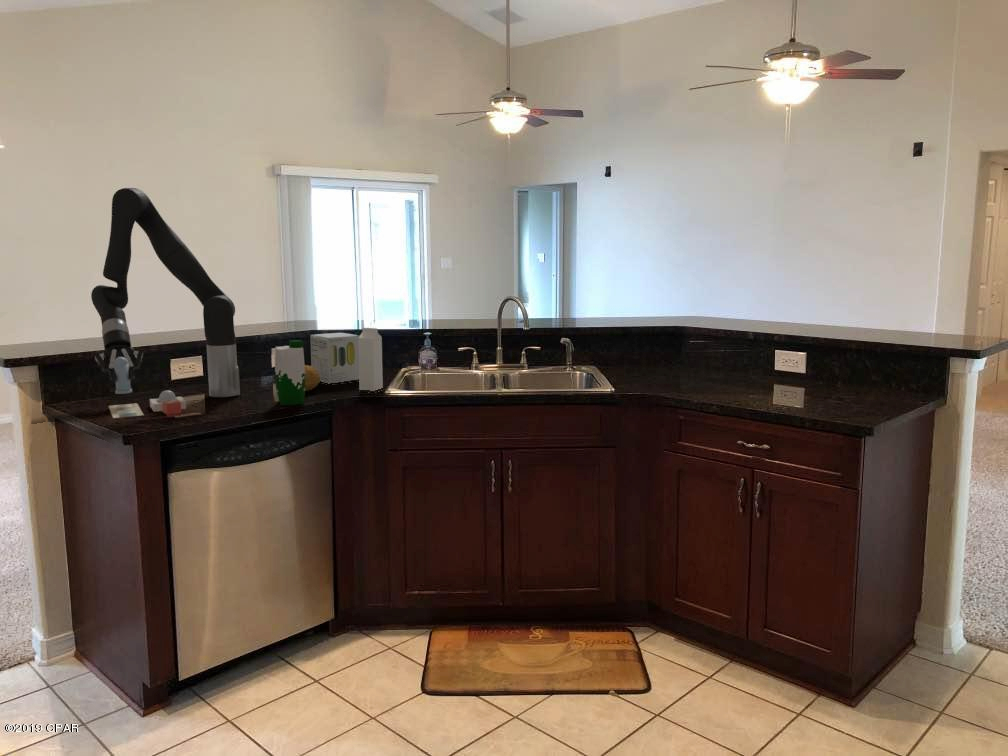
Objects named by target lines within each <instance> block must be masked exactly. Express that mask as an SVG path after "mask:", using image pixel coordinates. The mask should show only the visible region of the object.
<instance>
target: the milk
mask: <svg viewBox="0 0 1008 756" xmlns="http://www.w3.org/2000/svg"><path fill="white" fill-rule="evenodd" d="M361 331H362V332H361V334H359V335H358V352H359V381H358V382H359V384H358V385H359V390H370V391H375V390H378V389H381V388H384V384H383V383H384V382H383V377H384V376H383V340H382V338H383V337H382V336H381V334H379V332H378V328H374V327H362V328H361Z"/></svg>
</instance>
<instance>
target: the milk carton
mask: <svg viewBox="0 0 1008 756" xmlns="http://www.w3.org/2000/svg"><path fill="white" fill-rule="evenodd" d="M288 344H289V345H283V346H275V352H274V353H275V354H274V375H275V376H274V377H275V378H274V379H275V390H276V393H277V398H278V402H279V404H281V405H283V406H296V405H297V404H299V405H305V398H306V397H305V396H306V392H305V365H306V364H305V354H304V352H305V351H304V347H303V340H302V339H291V340H289V341H288ZM281 405H280V406H281ZM297 406H298V405H297Z"/></svg>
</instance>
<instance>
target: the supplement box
mask: <svg viewBox="0 0 1008 756" xmlns="http://www.w3.org/2000/svg"><path fill="white" fill-rule="evenodd" d="M309 337H310V360H311V361H310V362H311V364H310V366H312V367H314V368H315V369H316V370H317V371H318V373H319V376H320V381H321V382H324V383H328V384H330V383H338V382H344V381H351V380H358V379H359V352H358V337H359V335H357V334H352V333H348V332H347V333H346V332H331V333H330V332H329V333H318V334H317V333H316V334H310V336H309ZM324 383H323V384H324Z"/></svg>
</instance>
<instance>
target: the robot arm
mask: <svg viewBox="0 0 1008 756" xmlns="http://www.w3.org/2000/svg"><path fill="white" fill-rule="evenodd" d="M135 223H136V224H137V225H138V226H139V227H140V228H141V230H143V231H144V233H145V234H146V236H147V238H148V239H149V242H150V244H151V246H152V248H153V250H154V253H155V254H156V256H157V257H158V259H159V261H160V262H161V263H162V264H163V265H164V267H165V268H166V269H167V270H168V272H169V273H170V274H171V275H173V276H174V278H176V279H177V280H178V281H179V282H180V283H181V284H182V285H183V286H185V287H186V288H187V289H188V290H190V292H192V293H193V295H194V296H195V297H196V298H197V299H198V301H199V302H200V304H201V306H202V307H203V311H202V314H203V315H202V317H203V329H204V330H203V331H204V336H205V337H204V338H205V342H206V356H207V362H206V363H207V375H208V376H207V377H208V393H209V395H208V396H209V397H212V398H229V397H235V396H240V395H241V389H240V388H241V387H240V369H239V366H238V360H237V359H238V358H237V357H238V356H237V340H236V334H235V333H236V332H235V323H234V322H235V321H234V316H235V312H236V307H235V303H234V302H233V300H232V299H230V298H229V296H228V295H227V294H225V292H224V291H223V290H222V289H220V287H219V286H218V285H217V284H216V283H215V282H214V281H213V280H212V279H211V277H210V275H208V273H207V271H206V270H205V269H204V267H203V266H202V264H201V263H200V261H199V260H198V259H197V258H196V256H195V255H194V254H193V252H192V251H191V250H190V249H189V247H188V246H187V245H186V244H185V243H184V242H183V241H182V239H181V238H180V237H179V236H178V234H177V233H176V232H175V231H174V230H173V229H172V227H171V226H169V224H168V223H167V222H166V221H165V220H164V218H163V217H162V216H161V214H160V213H159V211H158V209H157V208H156V207H155V205H154V203H153V202H152V200H151V199H150V197H149V196H148V195H147V194H146V193H145V192H144V191H143V190H141V189H139V188H135V187H125V188H120V189H118V190H117V191H115V192H114V193H113V196H112V198H111V221H110V232H109V234H110V235H109V241H108V246H107V247H108V248H107V251H106V257H105V260H104V265H103V266H104V267H103V270H102V276H103V277H104V278H105V279H107V280H109V281H112V282H115V283H116V286H115V287H114V286H108V285H102V284H99V285H95V287H93V289H92V290H91V294H90V295H91V296H90V297H91V299H90V300H91V302H92V305H93V306H94V309H95V310H96V311H97V314H98V315H99V317H100V322H101V334H102V335H101V337H102V340H103V347H104V350H103V351H102V353H98V352H96V353H94V360H95V362H96V363H97V365H98V367H99V368H100V369H101V371H102V372H103V373H106V372H107V373H109V379H110V381H112V382H113V383H116V376H115V370H114V360H115V359H116V358H118V357H124V358H126V359H127V361H128V365H129V376H130V382H131V381H133V380H134V379H135V378H136V377H135V376H136V375H135V370H140V367H141V364H142V361H143V357H144V351H143V350H142V349H139V350H134V348H133V347H132V342H131V335H130V330H129V327H128V323H127V318H126V313H125V311H124V310H123V309H125V308H126V307H127V305H128V304H129V293H128V273H129V270H130V264H131V259H132V233H133V229H134V225H135ZM133 356H134V357H135V358H136V359H135V362H134V363H133V361H132V357H133ZM104 359H106V360H108V361H109V364H108V365H107V364H106V362H105V360H104Z"/></svg>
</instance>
